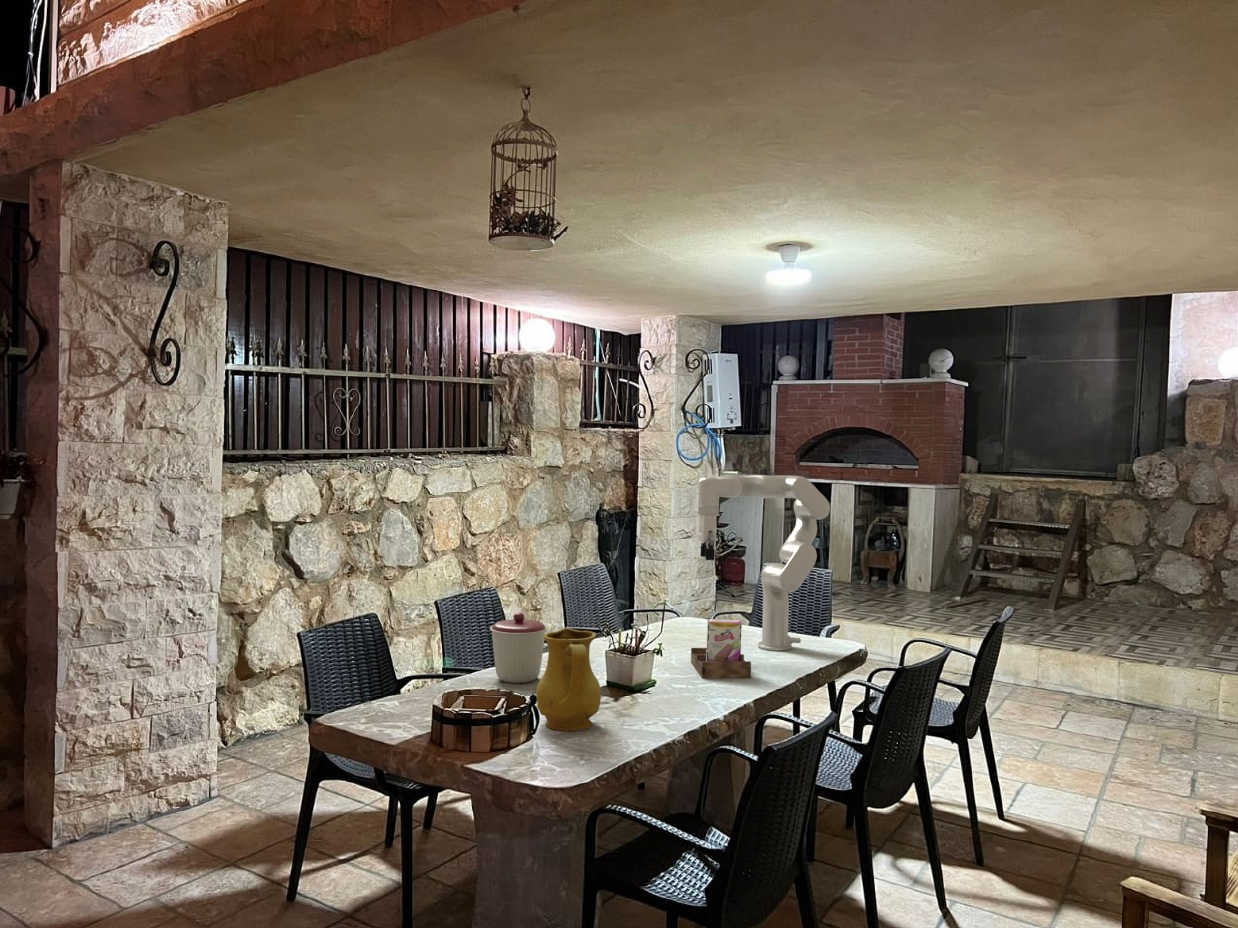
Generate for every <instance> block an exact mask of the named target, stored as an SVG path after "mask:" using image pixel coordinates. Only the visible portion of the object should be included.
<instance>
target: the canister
mask: <svg viewBox="0 0 1238 928" xmlns="http://www.w3.org/2000/svg"><path fill="white" fill-rule="evenodd" d="M525 617H526V616H525V614H524V613H523V612H516V613H514V615H513V616H512V618H513V619H505V620H501V621H497V622H495V623H494V624H493V625H491V626H490V627H489V631H490V632H491V634H492V635H491V636H492V637H491V639H492V648H493V649H492V650H493V658H494V666H495V667H494V668H495V673H496V676H497V677H498V679H499V680H500V681H503V682H506V683H510V684H522V683H523V684H524V683H525V684H526V683H530V682H533V681H535V680H536V679H537V678H538V677H539V675H540V673H541V669H542V668H541V667H542V660H543V653H544V647H545V646H544V645H545V639H544V635H546V631H547V630H548V626H547V625H545V624H544V623H542V622H541V621H538V620H533V619H525Z"/></svg>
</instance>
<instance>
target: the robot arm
mask: <svg viewBox="0 0 1238 928" xmlns="http://www.w3.org/2000/svg"><path fill="white" fill-rule="evenodd" d="M720 497H721V498H727V499H728V498H729V499H733V498H736V497H745V498H746V497H747V498H753V499H795V501H794V503H793V510H794V514H795V525H794V527H793V530H792V532H791V533H790V534H789V536H788V537H787V539H786V540H785V542H784V544H783V545H782V546H781V548H780V549H779V553H778V554H779V555H778V556H779V559H780V560H781V561H782V562H783V563H785V564H782V563H777V562H770V563H768V564H767V565H765V566H764V567H763V569H762V571H761V574H760V576H761V577H760V581H761V586H762V626H761V627H762V630H761V632H762V633H761V636H762V638H761V641H759V642H758V643H757V647H758V648H760V649H763V650H767V651H776V652H777V651H778V652H779V651H781V652H783V651H789V650H791V649H793V645H792V644H801V639H802V638H800V637H794V636H790V635H789V607H790V606H789V605H790V604H789V602H790V600H789V599H790V598H789V593H794V592H796V591H797V590H798V589H799V588H800V587H801V586H802V584H803V583H804V581H805V580H806V579H807V577H808V575H809V574H810V573H811V571H812V569H813V567H814V566H815V564H816V561H817V557H818V555H817V550H816V548H815V546H814V545H813V542H814V540H815V538H816V536H817V533H818V524H817V520H823V519H825V518H827V517H828V516H829V514H830V511H831V507H830V505H831V504H830V503H829V501H828V499H827V498H826V496H824V495H823V494H822V493H821V492H820V491H819V490H818V489H817V488H816V486H815V485H814V484H813V483H812V482H811V481H810V480H809V479H808V478H806V477H805V476H801V475H787V474H786V475H762V474H761V475H746V476H742V475H741V476H738V475H737V476H727V475H726V476H725V475H724V476H716V477H708V476H704V477H701V478H699V480H698V499H697V500H698V501H697V505H698V506H697V516H699V519H698V520H699V522H698V524H699V525H698V535H697V536H698V537H697V538H698V539H697V540H698V541H699V542H700V554H699V555H700V557H701V558H705V560H706V561H715V553H716V551H715V547H716V546H715V543H716V541H717V517H718V516H720V515H719V511H720Z"/></svg>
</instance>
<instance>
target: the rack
mask: <svg viewBox="0 0 1238 928" xmlns="http://www.w3.org/2000/svg"><path fill="white" fill-rule="evenodd" d="M706 651H707V647H691V648H690V664H691V665H692V666H693V668H694V669H695V670H696V673H698V675H699V676H700V677H701V679H752V662H751V660H750V661H746V660H745V654H743V653H742V654H741V656H740V661H706Z"/></svg>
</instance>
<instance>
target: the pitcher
mask: <svg viewBox="0 0 1238 928" xmlns="http://www.w3.org/2000/svg"><path fill="white" fill-rule="evenodd" d="M594 639H596V633H595V632H593V631H590V630H577V629H573V628H568V627H566V628H560V629H559V630H557V631H550V632H549V631H548V632H547V633H546V632H545V635H544V641H545V642H546V643H547V646H548V656H547V664H546V667H545V668H546V669H545V671H544V673H543V675H542V676H541V678H540V680H538V683H537V686H536V691H535V692H536V694H535V695H536V696H535V697H536V703H537V704H536V705H537V706H536V707H537V710H538V711H539V713H540V715H541V716H543V717H545V719H546V722H545V725H544V726H545V727H546V728H548V729H551V730H555V731H562V732H563V731H564V732H573V731H575V732H576V731H577V732H579V731H580V732H581V731H583V730H586V729H590V728H591V727H592V726H593V722H592V721H591V719H590V718H592V717H593V716H594V715H596V714H597V713H599V709H600V707H601V706H600V705H601V700H602V698H601V696H602V695H601V685H600V683H599V680H598V678H597V676H596V675H595V674H594V671H593V669H592V667H591V663H590V651H591V650H590V649H591V648H590V647H591V644H592V642H593V641H594Z"/></svg>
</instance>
